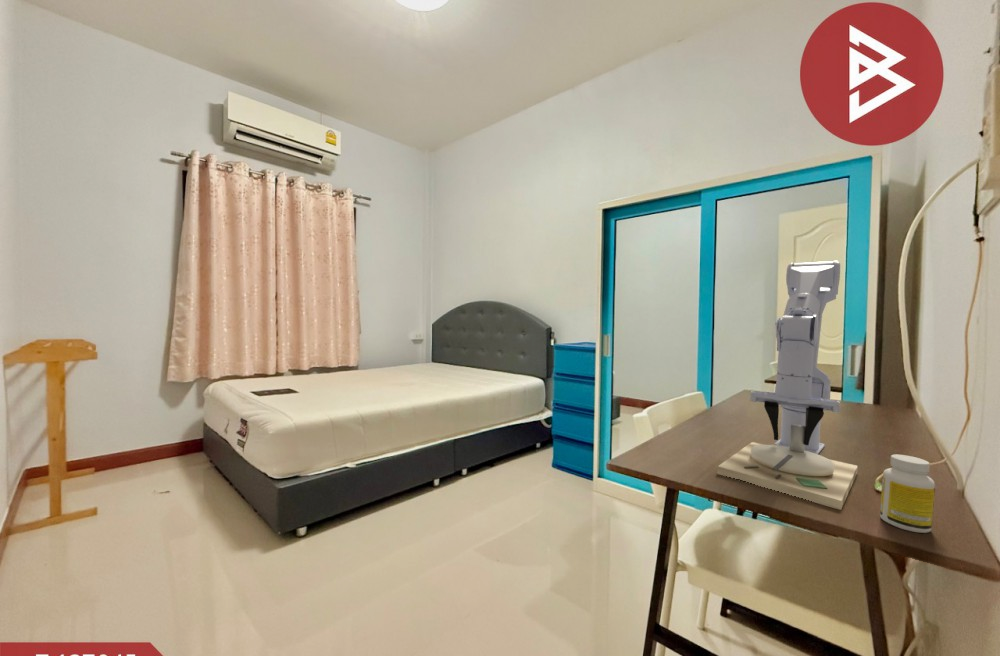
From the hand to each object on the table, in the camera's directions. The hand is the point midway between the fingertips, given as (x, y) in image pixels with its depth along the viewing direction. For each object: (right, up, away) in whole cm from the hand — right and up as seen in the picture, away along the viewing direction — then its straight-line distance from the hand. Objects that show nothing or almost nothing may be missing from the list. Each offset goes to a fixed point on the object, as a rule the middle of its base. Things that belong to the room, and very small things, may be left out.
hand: (790, 441), depth 81 cm
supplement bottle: (+1, -6, -22) cm, 23 cm away
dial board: (-4, -5, -4) cm, 8 cm away
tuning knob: (-5, -3, -5) cm, 8 cm away
